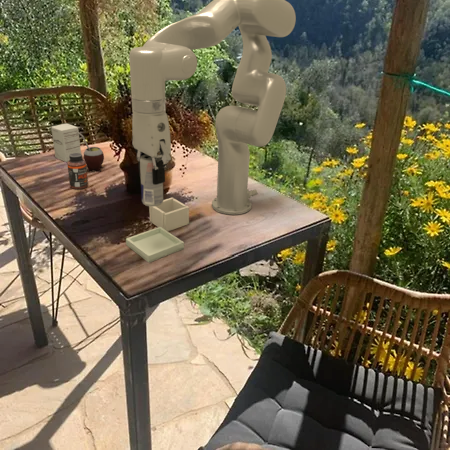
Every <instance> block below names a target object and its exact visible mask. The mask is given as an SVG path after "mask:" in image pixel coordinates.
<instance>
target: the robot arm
mask: <svg viewBox="0 0 450 450" xmlns="http://www.w3.org/2000/svg"><path fill="white" fill-rule="evenodd" d="M296 18H297V17H296V11H295V9H294V7H293V6H292V4H291V3H290V2H289V1H287V0H212V1H210V2H209V3H208V4H207V5H205V6H204V7H203V8H202V9H201V10H200V11H199V12H197V13H195V14H192V15H190V16H187V17H185V18H183V19H180V20H179V21H176V22H173V23H171V24H169V25H167V26H165V27H163V28H161V29H160V30H158V31H157V32H155V33H154V35H152V36H151V37H150V38H149V39H148V40H146V42H145V43H144V44H143V46H139V47H137V46H136V47H134V48H132V49H131V50H130V52H129V56H128V58H129V73H130V90H131V94H130V95H131V108H132V111H131V112H132V119H131V120H132V128H131V130H132V133H131V134H132V146H133V148H134V151H135V153H136V160H137V162H138V163H137V164H138V176H139V177H140V178H141V174H140V159H141V156H142V155H145V154H147V155H149V156H151V157H152V161H153V166H154V169H152V177H153V184H154V185H156V184H160V183H163V184H164V183H165V182H166V175H165V173H166V172H165V171H166V170H165V168H166V167H167V164H168V163H169V162H170V161H171V160H172V158H171V152H172V144H171V142H172V141H171V131H170V129H171V128H170V123H169V119H168V114H167V113H166V81H178V82H179V81H185V80H188V79H189V78H191V77H192V76H193V75H195V72H196V70H197V67H198V59H197V56H196V54H195V52H193V51H194V50H200V49H201V50H202V49H206V48H210V47H215V46H217V45H219V44H220V43H222V42H223V40H224V39H226V38H227V37H228V36H229V35H230V34H231V33H232V32H233V31H234V30H235V29H237V28H238V29H239V32H240V35H241V39H242V46H243V47H242V53H241V54H242V55H241V58H240V61H239V65H238V67H237V70H236V73H235V77H234V80H233V83H232V86H231V96H232V97H233V99H234V100H235V101H237V102H239V103H241V104H245V105H250V106H253V107H258V108H257V110H255V109H250V108H247V107H246V108H245V107H242V106H237V105H227V106H224V107H222V108H221V109H220V110H219V111H218V112H217V114H216V116H215V117H216V118H215V130H216V135H217V137H216V138H217V144H218V145H217V147H218V148H217V150H218V152H217V155H218V156H217V180H216V181H217V182H216V183H217V186H216V197H215V198H213V200H212V201H211V207H212V209H213V210H214V211H215V212H218V213H221V214H224V215H233V216H235V215H243V214H245V213H248V212H249V211H250V210H251V209H252V202H251V201H250V199H251V197H255V196H257V195H258V190H257V189H251V190H250V191H249V188H248V185H249V173H250V172H249V171H250V169H249V168H250V160H251V159H250V156H251V155H250V148H249V146H248V145H251V146H254V147H264V146H266V145H268V144H269V142H270V141H271V139H272V138H273V135H274V133H275V130H276V126H277V124H278V120H279V118H280V115H281V112H282V109H283V107H284V104H285V100H286V94H287V85H286V82H285V79H284V78H283V77H282V76H281V75H279V74H277V73H272V72H269V70H270V66H271V63H272V58H273V56H272V55H273V54H272V48H271V46H270V43H269V41H268V39H267V37H276V38H284V37H287V36H288V35H290V34H291V33H292V32H293V31H294V29H295V25H296V20H297V19H296ZM156 158H160V160H159V162H158V163H157V159H156Z"/></svg>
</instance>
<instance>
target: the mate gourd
mask: <svg viewBox="0 0 450 450" xmlns="http://www.w3.org/2000/svg"><path fill="white" fill-rule="evenodd" d="M75 132H77V131H75ZM77 133H78V134H79V136H80V137H81V138H82V140H83V141H84V144H85V145H86V147H87V148H85V150H84V152H83V160H84V161H85V162H86V169H87V173H91V172H94V171H96V172H98V173H101V172H102V169H103V163H104V160H105V155H104V152H103V150H102V149H101V148H100V147H97V146H89V145H88V143H87V141H86V138H85V136H84V135H83V134H82V133H81V132H77Z"/></svg>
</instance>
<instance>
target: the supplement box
mask: <svg viewBox="0 0 450 450" xmlns="http://www.w3.org/2000/svg"><path fill="white" fill-rule="evenodd" d="M75 131H77V132H79V127H78V126H76V125H73V124H70V123H61V124H58V125H52V126H51V134H52V135H51V136H52V141H53V149H54V155H55V159H58V160H61V161H63V162H65V163H68V161H69V160H70V157H69V155H70V154H73V153H80V154H82V151H81V141H80V134H78V133H77V132H75ZM79 133H80V132H79Z"/></svg>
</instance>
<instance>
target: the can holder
mask: <svg viewBox="0 0 450 450" xmlns="http://www.w3.org/2000/svg"><path fill="white" fill-rule="evenodd" d="M148 209H149V210H148V211H149V222H150V223H151V224H153V225H154V226H156V228H158V227H162V228H163V229H165V230H166V231H168V232H171V231H173V230H175V229H179V228H181V227H184V226H187V225H189V224H190V206H188V205H186V204H185V203H183V202H181V201H180V200H177V199H176V198H174V197H170V198H166V199H163V203H162V204H161V205H158V206H148Z"/></svg>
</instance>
